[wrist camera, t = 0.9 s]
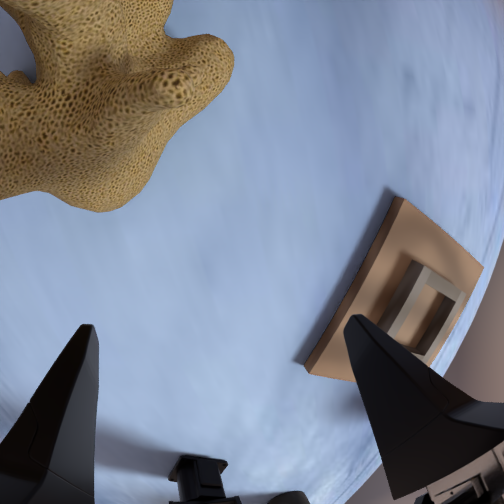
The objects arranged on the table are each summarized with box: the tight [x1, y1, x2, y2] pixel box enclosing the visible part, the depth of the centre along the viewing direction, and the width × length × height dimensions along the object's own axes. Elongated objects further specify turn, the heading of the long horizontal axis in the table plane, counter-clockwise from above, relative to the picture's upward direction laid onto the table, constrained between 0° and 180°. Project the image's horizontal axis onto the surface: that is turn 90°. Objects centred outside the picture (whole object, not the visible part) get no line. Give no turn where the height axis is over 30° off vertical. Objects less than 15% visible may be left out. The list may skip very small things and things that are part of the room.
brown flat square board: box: [304, 196, 484, 382], centre depth 32 cm, size 20×20×4 cm
